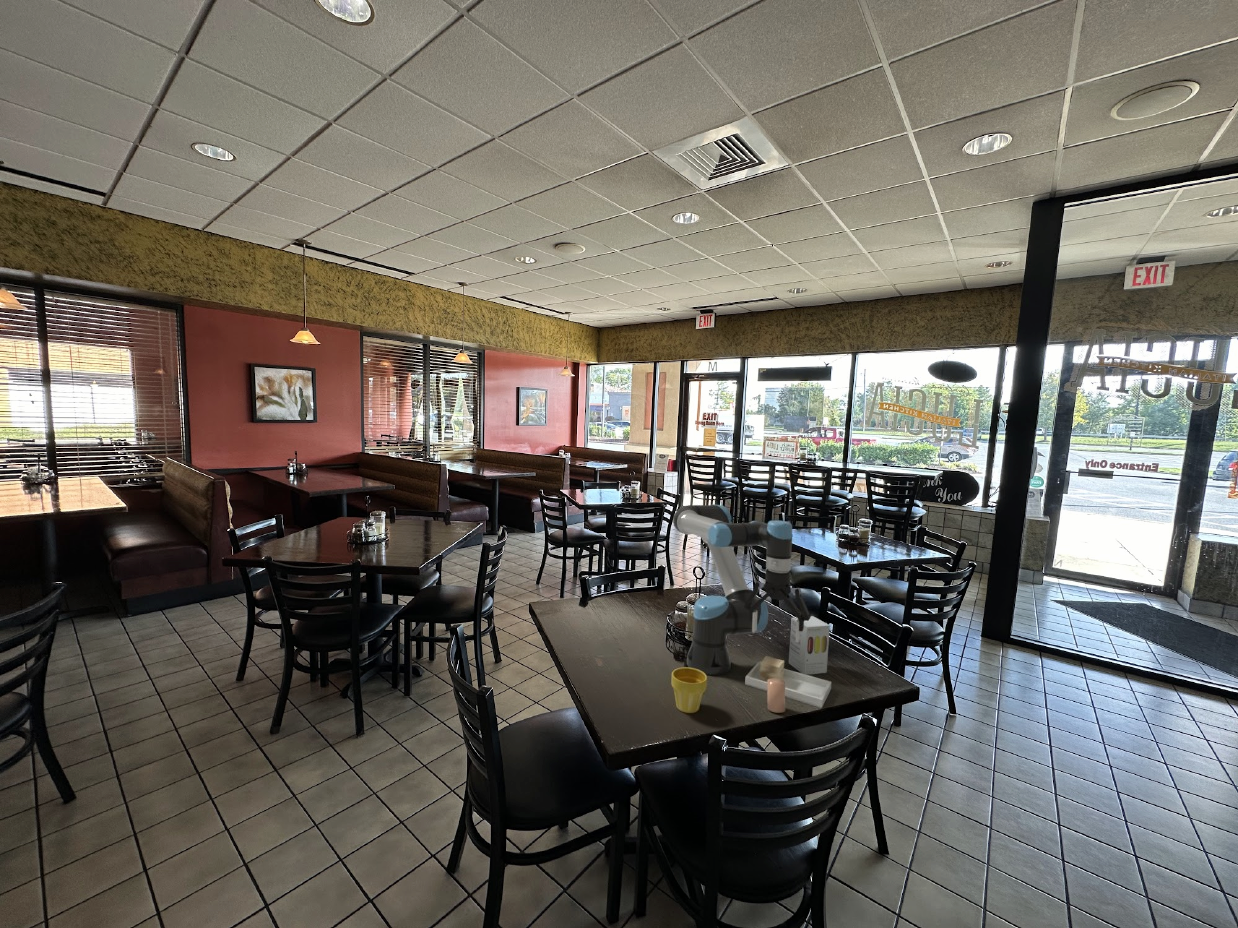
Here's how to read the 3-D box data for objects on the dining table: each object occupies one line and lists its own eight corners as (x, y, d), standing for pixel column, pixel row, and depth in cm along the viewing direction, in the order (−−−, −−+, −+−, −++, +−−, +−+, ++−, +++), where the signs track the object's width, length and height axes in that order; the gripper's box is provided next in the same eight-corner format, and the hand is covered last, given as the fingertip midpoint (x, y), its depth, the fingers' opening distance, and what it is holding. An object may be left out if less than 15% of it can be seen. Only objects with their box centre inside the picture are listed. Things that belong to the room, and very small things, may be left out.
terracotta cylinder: (786, 713, 146) (786, 684, 147) (768, 711, 147) (768, 683, 147) (783, 706, 151) (783, 678, 151) (766, 704, 152) (766, 677, 152)
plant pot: (701, 697, 155) (703, 666, 154) (709, 716, 144) (710, 683, 144) (668, 697, 154) (669, 666, 154) (673, 716, 144) (674, 683, 143)
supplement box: (803, 675, 171) (806, 627, 170) (787, 663, 180) (790, 617, 179) (827, 672, 174) (830, 624, 172) (810, 660, 182) (813, 615, 181)
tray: (744, 684, 164) (745, 676, 163) (758, 668, 175) (758, 661, 175) (821, 708, 151) (822, 699, 150) (830, 689, 162) (831, 681, 162)
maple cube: (759, 679, 166) (760, 662, 165) (765, 672, 171) (766, 655, 170) (778, 685, 162) (778, 667, 162) (783, 678, 167) (784, 660, 167)
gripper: (736, 566, 163) (733, 630, 164) (817, 579, 150) (814, 648, 151) (743, 561, 170) (740, 624, 171) (822, 573, 157) (819, 640, 158)
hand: (775, 635), depth 161 cm, fingers open, 13 cm apart
